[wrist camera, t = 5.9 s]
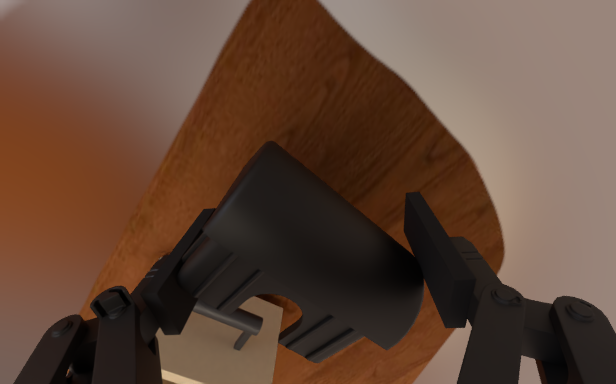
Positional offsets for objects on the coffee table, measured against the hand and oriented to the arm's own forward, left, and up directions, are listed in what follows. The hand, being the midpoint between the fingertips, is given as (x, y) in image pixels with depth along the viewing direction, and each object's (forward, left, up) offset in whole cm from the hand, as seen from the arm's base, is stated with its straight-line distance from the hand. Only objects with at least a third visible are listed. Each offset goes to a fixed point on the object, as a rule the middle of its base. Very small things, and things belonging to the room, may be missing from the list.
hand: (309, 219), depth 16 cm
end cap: (0, 0, -1) cm, 1 cm away
